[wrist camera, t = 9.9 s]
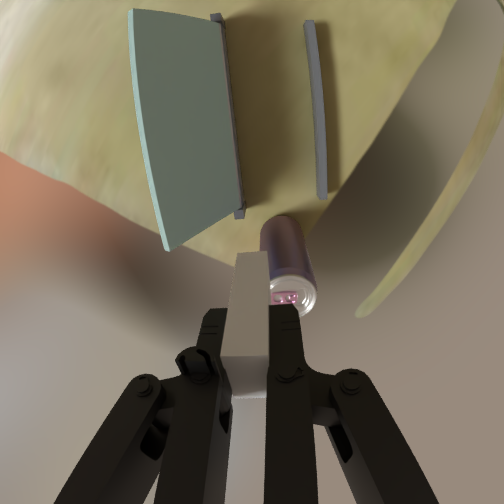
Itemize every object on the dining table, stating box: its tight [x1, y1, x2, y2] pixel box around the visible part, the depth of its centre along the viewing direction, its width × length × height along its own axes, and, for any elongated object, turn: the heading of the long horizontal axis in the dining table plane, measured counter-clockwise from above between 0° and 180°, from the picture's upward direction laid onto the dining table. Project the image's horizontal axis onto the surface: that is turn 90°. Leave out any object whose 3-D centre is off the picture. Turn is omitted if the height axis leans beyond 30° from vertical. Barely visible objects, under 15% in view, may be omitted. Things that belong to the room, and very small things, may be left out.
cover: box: [128, 8, 242, 251], centre depth 24 cm, size 24×13×1 cm
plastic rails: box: [210, 13, 327, 219], centre depth 29 cm, size 27×12×4 cm, turn 6°
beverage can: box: [260, 216, 317, 318], centre depth 32 cm, size 6×6×15 cm
